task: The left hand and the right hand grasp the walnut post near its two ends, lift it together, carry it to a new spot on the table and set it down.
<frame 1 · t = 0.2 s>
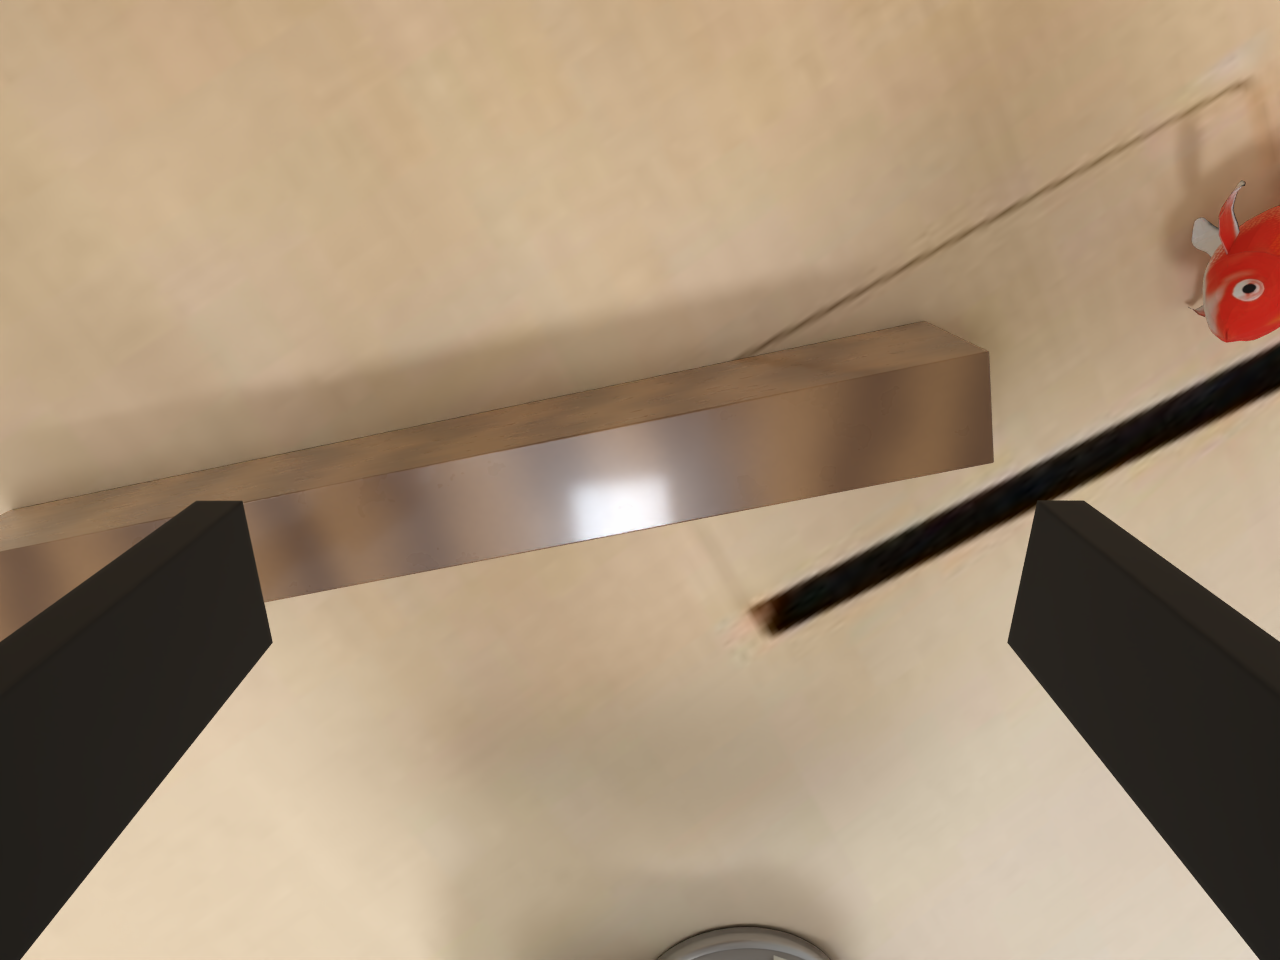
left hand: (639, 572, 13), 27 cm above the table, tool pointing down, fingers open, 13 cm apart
post: (459, 463, 41), on the table
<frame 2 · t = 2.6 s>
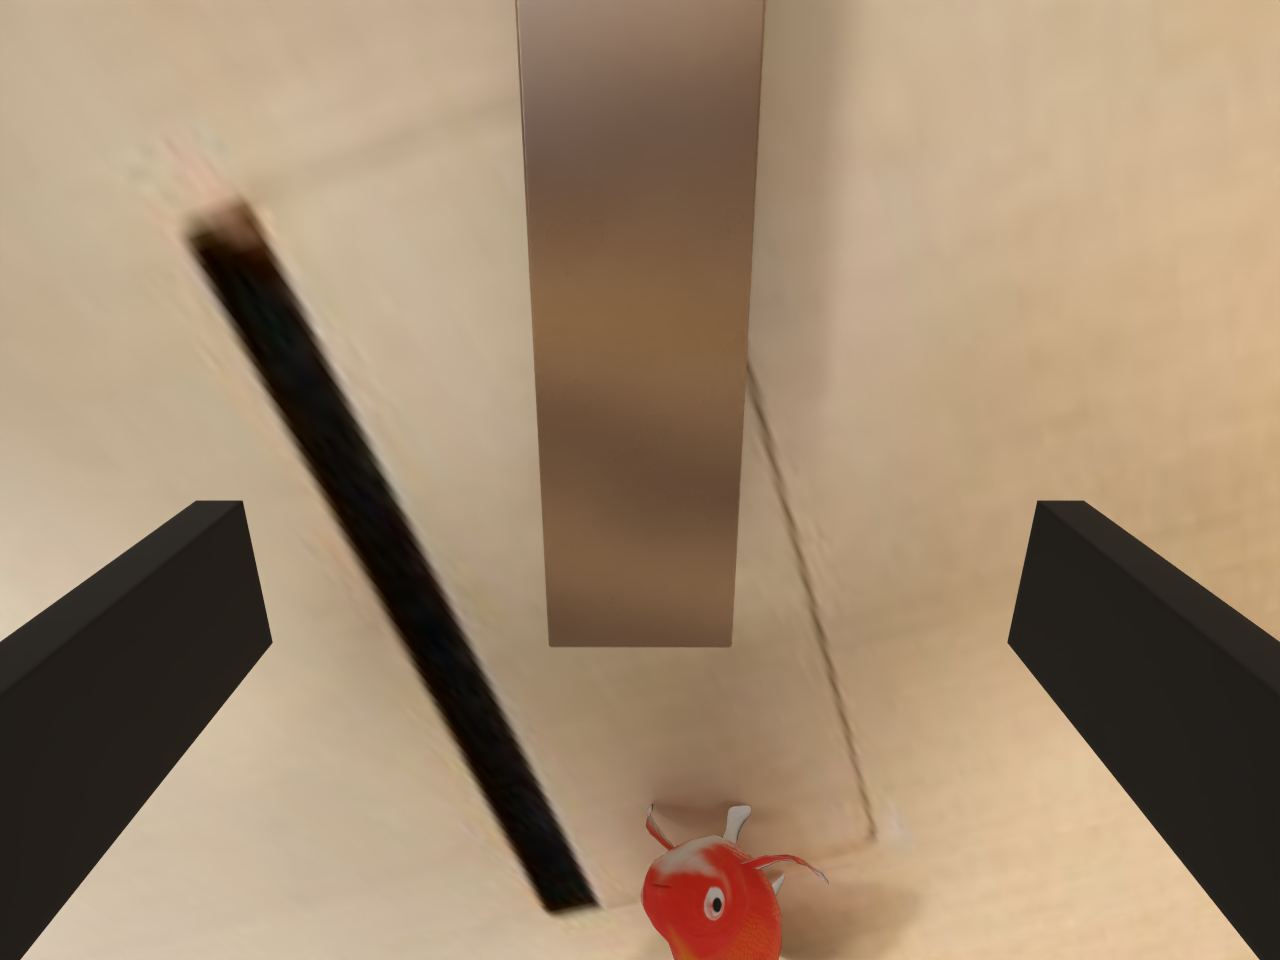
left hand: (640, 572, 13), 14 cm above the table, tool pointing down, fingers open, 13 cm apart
fish: (749, 872, 34), on the table
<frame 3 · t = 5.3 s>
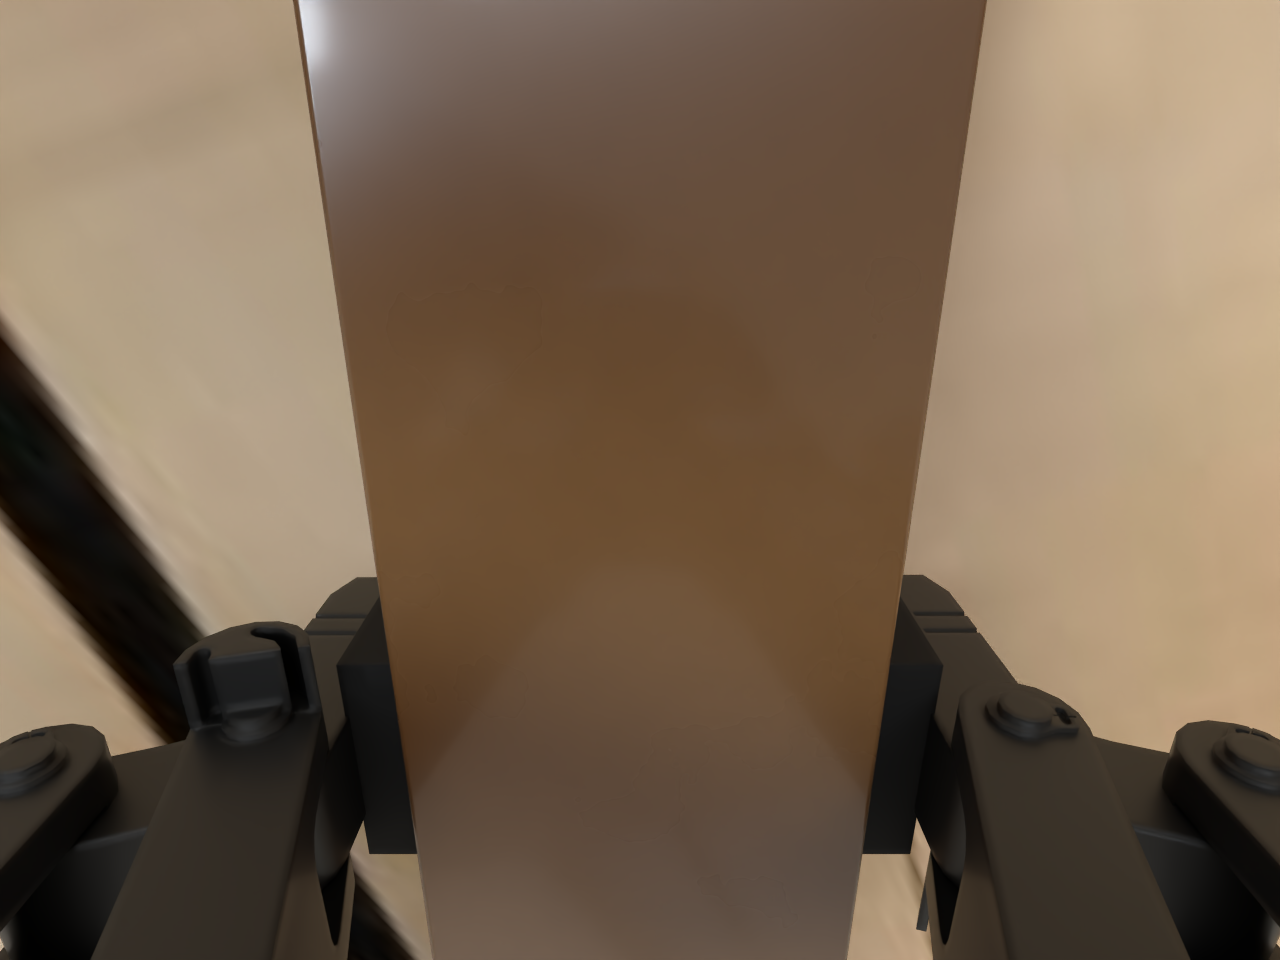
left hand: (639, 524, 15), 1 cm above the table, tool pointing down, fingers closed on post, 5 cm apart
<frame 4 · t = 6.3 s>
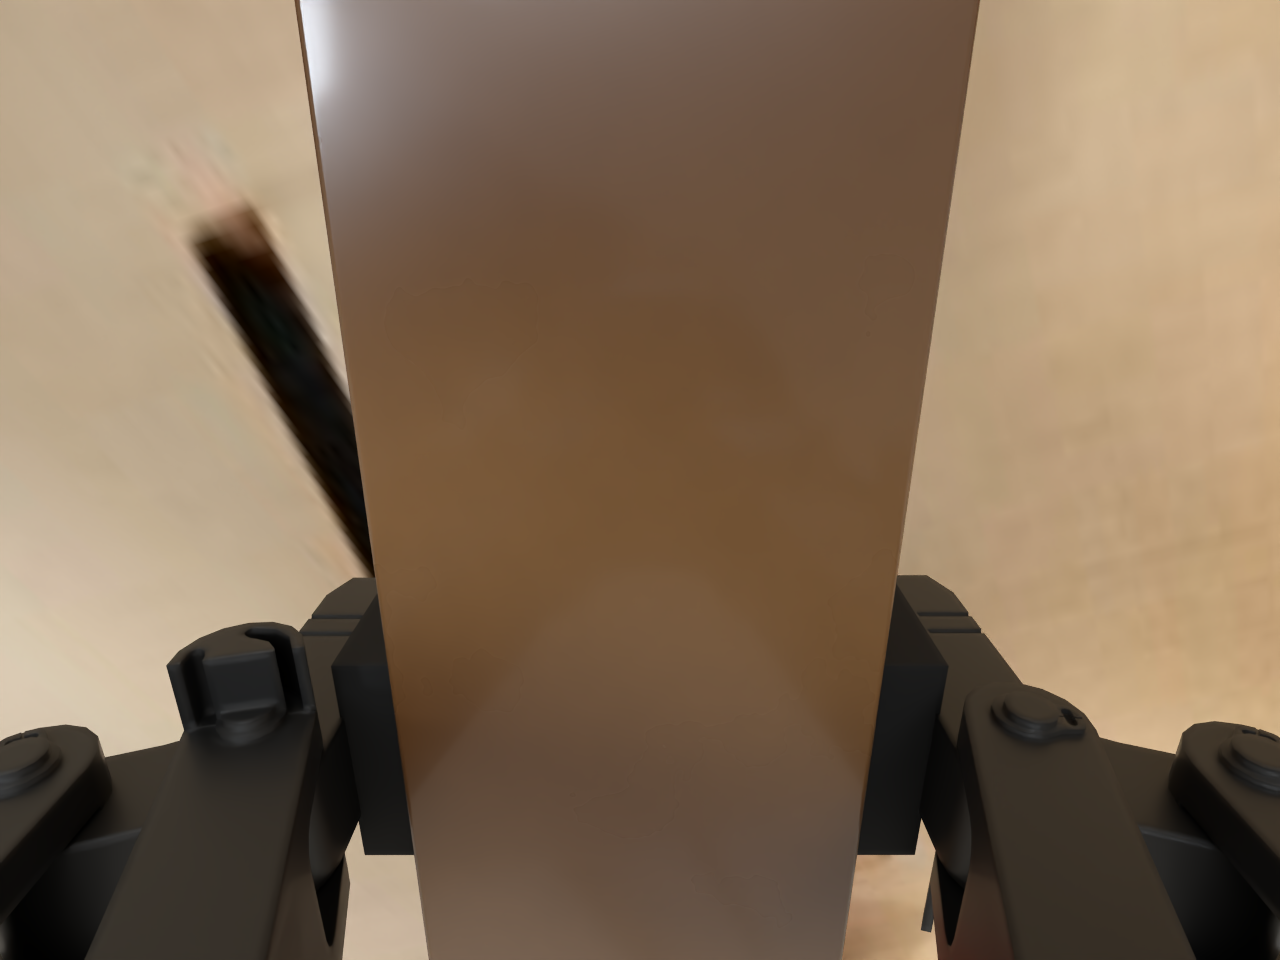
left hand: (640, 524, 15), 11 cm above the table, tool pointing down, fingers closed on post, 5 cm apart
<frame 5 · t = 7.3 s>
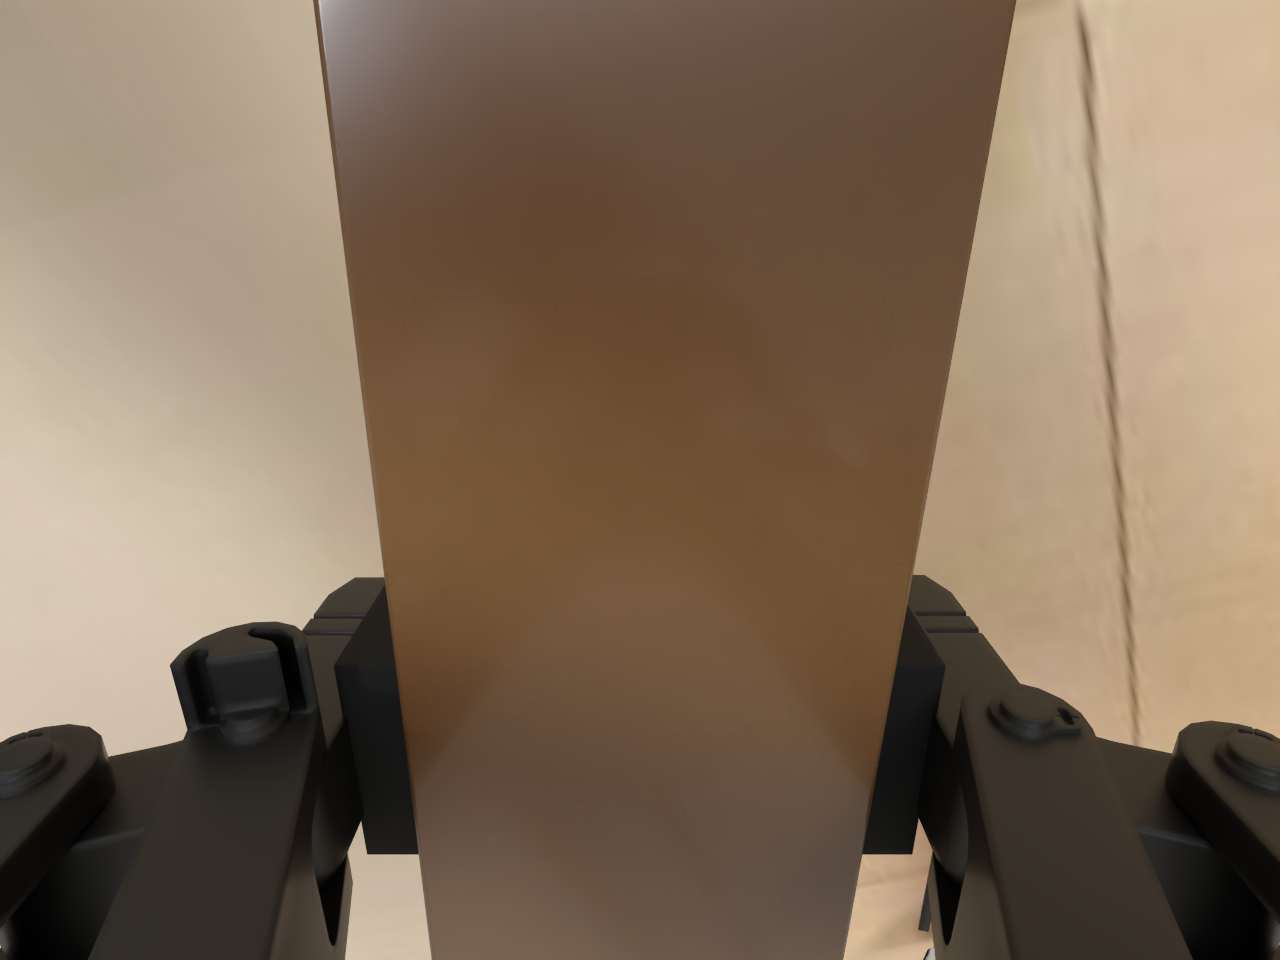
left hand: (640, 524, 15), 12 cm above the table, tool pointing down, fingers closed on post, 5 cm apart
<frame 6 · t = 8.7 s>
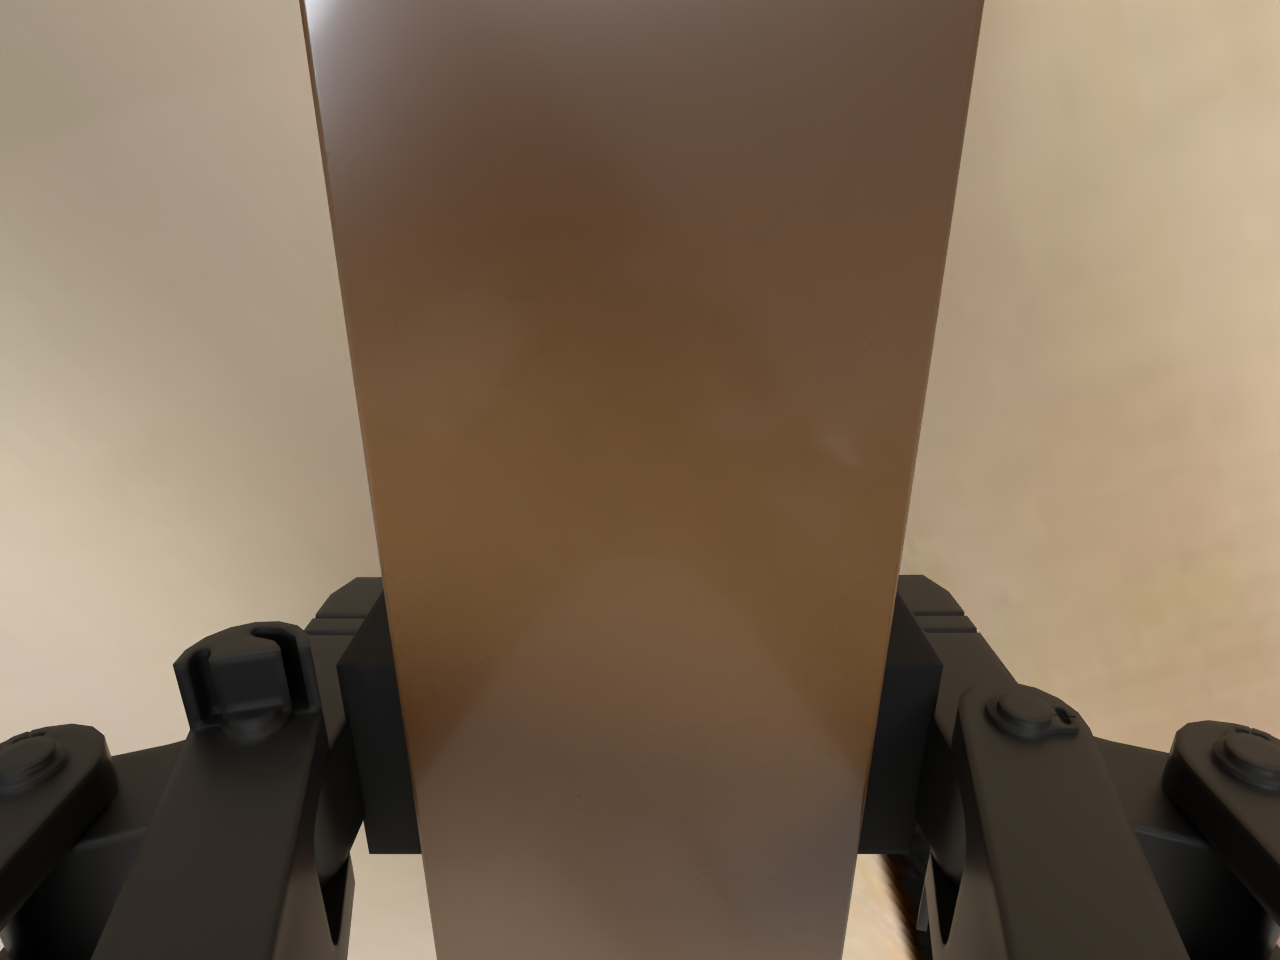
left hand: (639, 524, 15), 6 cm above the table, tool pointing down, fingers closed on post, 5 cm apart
when the left hand's fingers open (2 cm above the table, at t = 9.6 s): post drops 1 cm, on the table.
when the right hand's fingers open (4 cm above the table, at t = 9.8 s): post stays where it is, on the table.
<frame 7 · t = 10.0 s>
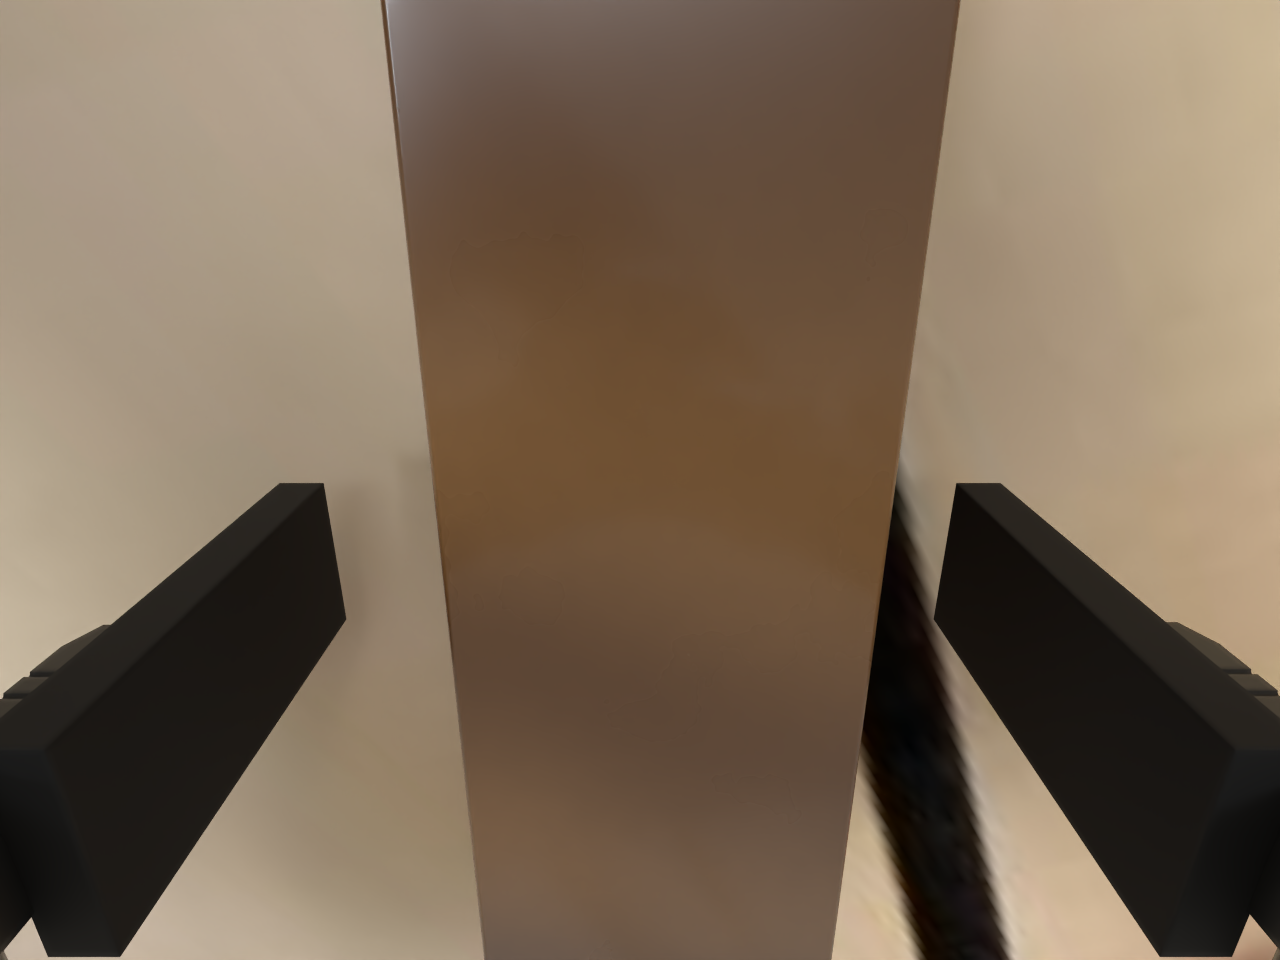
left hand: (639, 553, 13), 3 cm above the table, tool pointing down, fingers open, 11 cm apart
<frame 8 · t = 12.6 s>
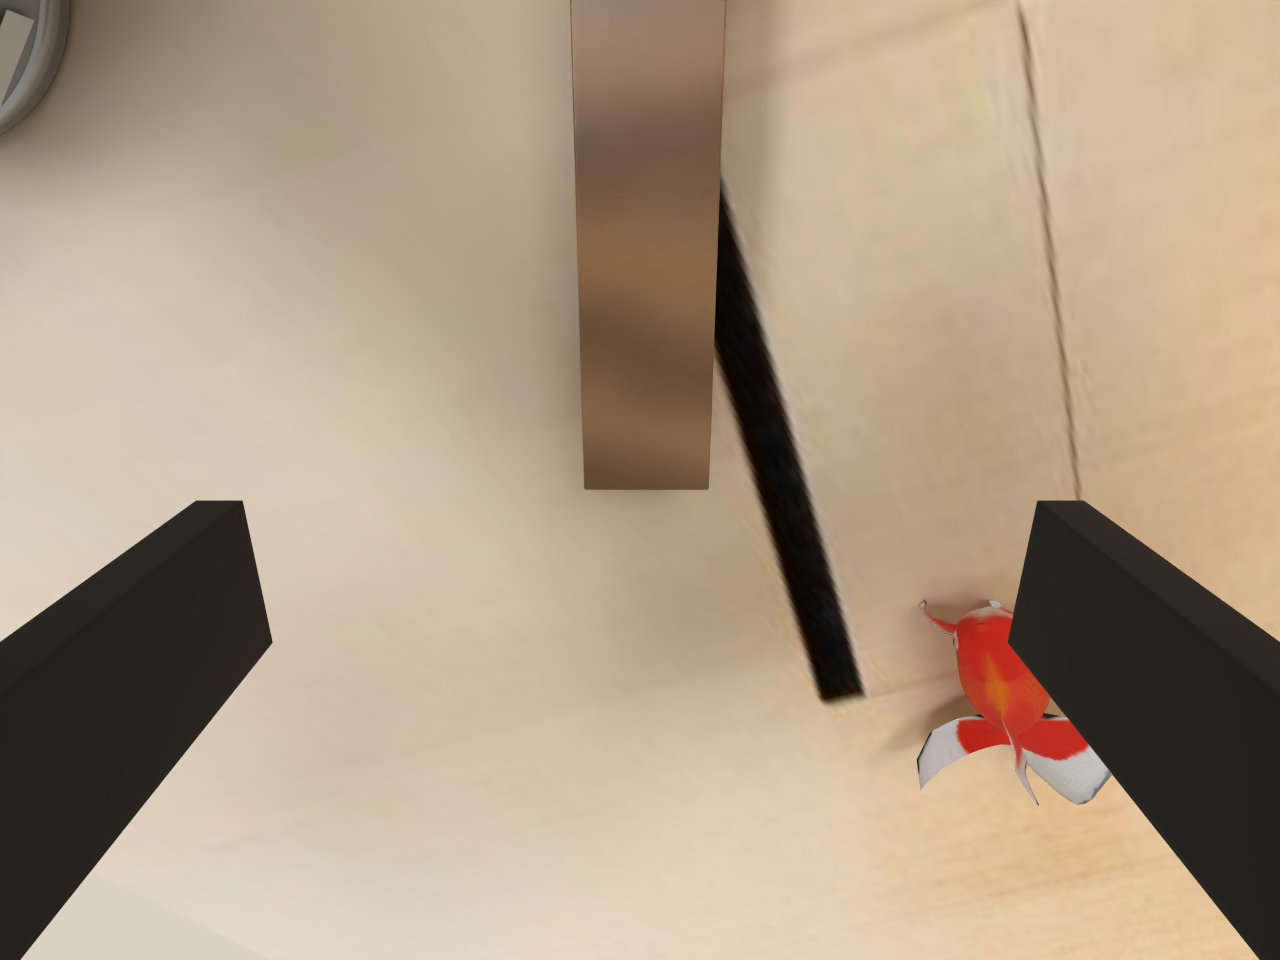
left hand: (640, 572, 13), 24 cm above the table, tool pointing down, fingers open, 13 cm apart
fish: (989, 664, 42), on the table
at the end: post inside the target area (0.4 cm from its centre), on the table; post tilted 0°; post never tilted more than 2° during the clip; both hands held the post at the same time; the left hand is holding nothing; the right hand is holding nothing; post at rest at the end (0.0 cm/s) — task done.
